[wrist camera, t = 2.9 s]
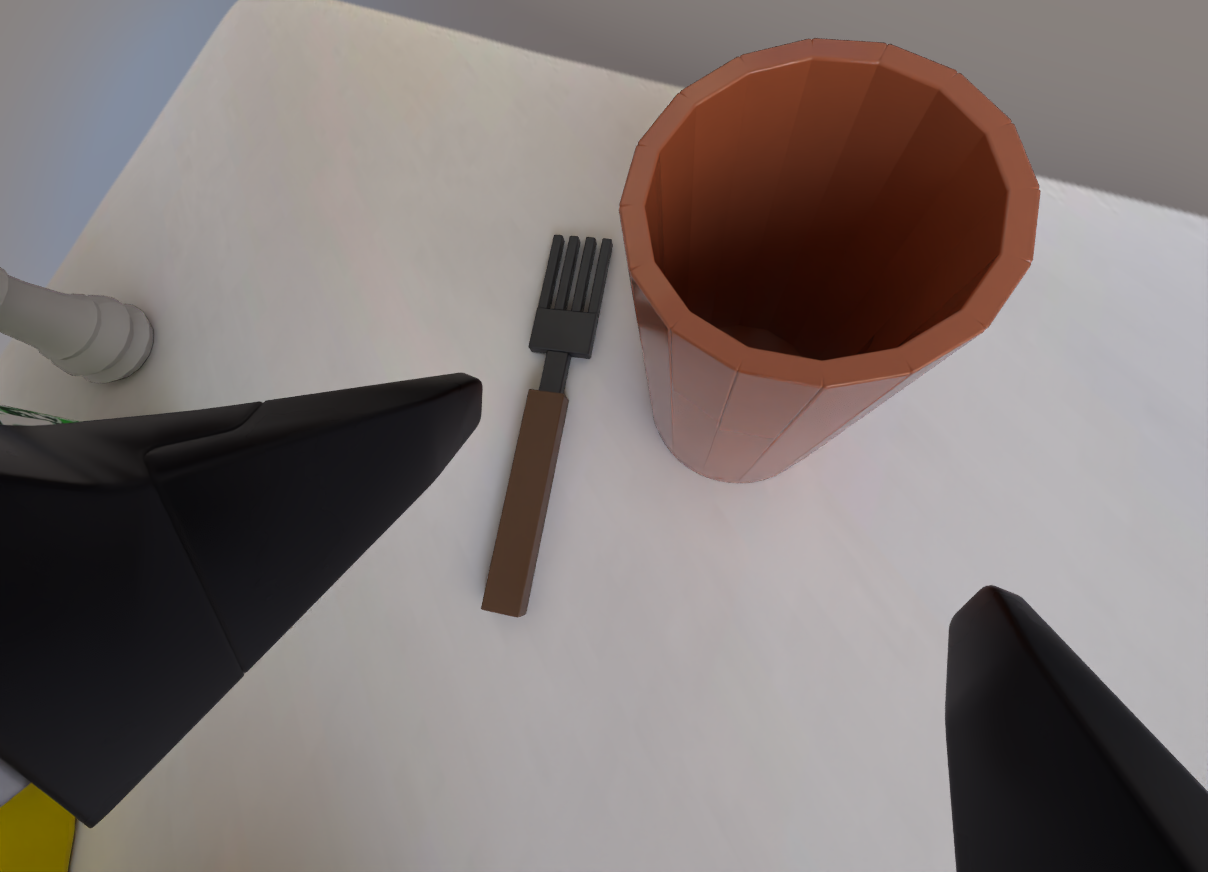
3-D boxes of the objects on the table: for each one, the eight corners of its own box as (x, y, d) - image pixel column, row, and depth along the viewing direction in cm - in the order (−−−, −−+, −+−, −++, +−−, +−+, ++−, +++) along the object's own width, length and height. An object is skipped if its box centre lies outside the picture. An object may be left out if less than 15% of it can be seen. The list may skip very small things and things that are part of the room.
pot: (710, 515, 20) (762, 464, 8) (622, 377, 22) (556, 164, 10) (859, 426, 20) (1141, 237, 8) (758, 295, 22) (861, -21, 10)
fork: (540, 617, 20) (533, 621, 19) (475, 603, 20) (466, 606, 20) (613, 244, 23) (610, 231, 22) (556, 240, 24) (551, 227, 23)
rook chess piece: (131, 292, 27) (-89, 189, 19) (174, 339, 26) (-41, 249, 18) (70, 353, 26) (-178, 273, 19) (112, 403, 25) (-134, 340, 18)
